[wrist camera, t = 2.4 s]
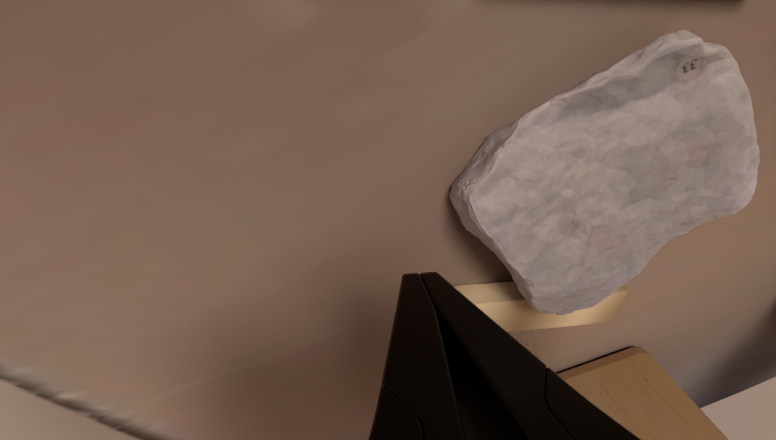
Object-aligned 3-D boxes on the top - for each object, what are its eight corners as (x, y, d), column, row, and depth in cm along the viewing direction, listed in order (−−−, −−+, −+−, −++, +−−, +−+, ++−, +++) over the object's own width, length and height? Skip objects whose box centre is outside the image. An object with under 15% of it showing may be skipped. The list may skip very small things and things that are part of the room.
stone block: (417, 173, 18) (524, 293, 21) (433, 204, 14) (565, 351, 17) (622, -4, 16) (710, 161, 19) (723, -38, 11) (818, 187, 14)
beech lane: (797, -117, 12) (851, -131, 11) (597, 303, 23) (613, 321, 21) (496, -151, 11) (519, -171, 9) (431, 318, 21) (437, 338, 20)
